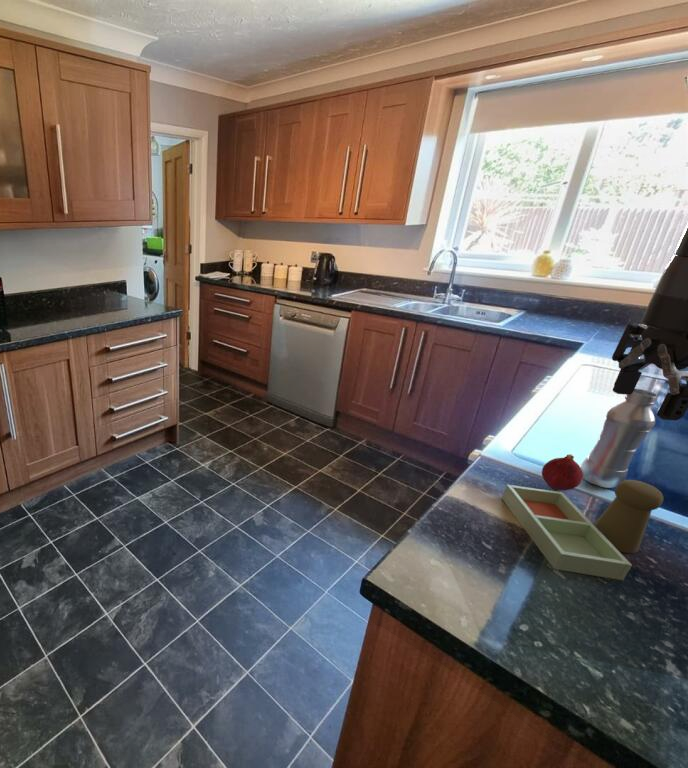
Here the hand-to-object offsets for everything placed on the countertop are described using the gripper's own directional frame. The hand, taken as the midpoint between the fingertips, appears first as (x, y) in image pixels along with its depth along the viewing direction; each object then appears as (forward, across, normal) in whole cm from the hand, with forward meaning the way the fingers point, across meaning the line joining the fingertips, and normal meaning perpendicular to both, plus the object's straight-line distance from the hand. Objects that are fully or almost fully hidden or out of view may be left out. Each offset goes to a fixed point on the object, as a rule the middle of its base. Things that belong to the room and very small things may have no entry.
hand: (642, 405), depth 61 cm
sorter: (+25, 0, +4) cm, 25 cm away
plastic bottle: (+25, +19, -14) cm, 34 cm away
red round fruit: (+25, +14, -4) cm, 29 cm away
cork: (+25, +1, -5) cm, 26 cm away
